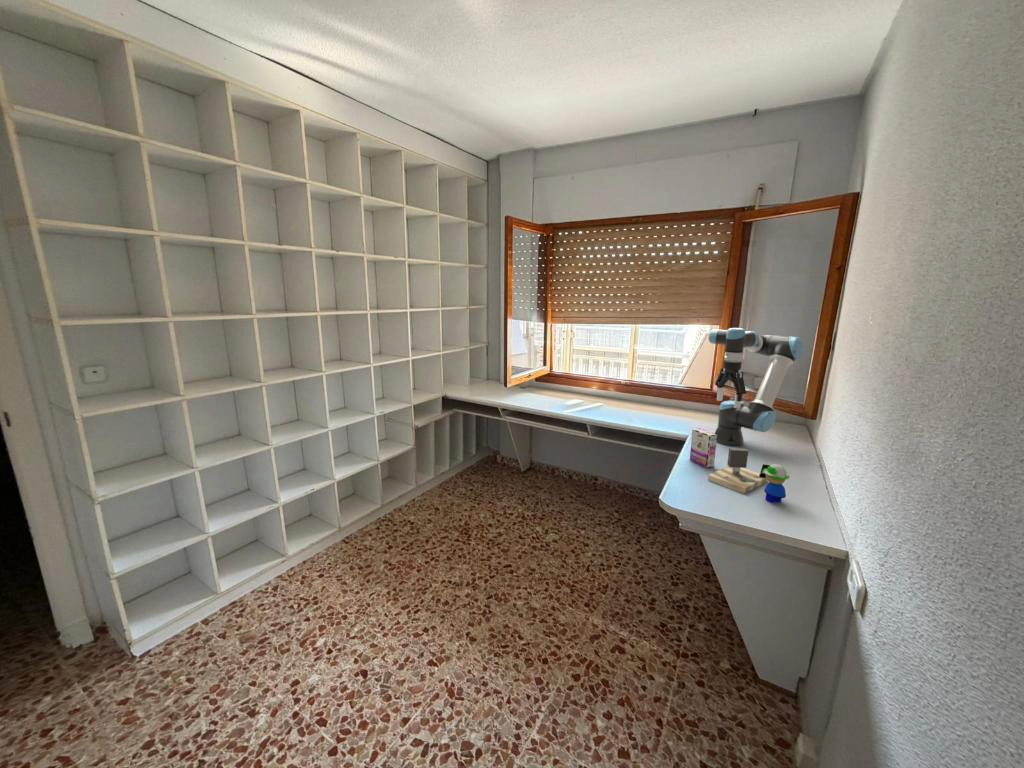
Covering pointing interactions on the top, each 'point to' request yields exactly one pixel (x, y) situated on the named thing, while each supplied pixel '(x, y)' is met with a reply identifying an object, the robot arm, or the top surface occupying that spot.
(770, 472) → the toy
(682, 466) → the top surface
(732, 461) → the peg
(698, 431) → the candy bar box
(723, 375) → the robot arm
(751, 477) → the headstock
